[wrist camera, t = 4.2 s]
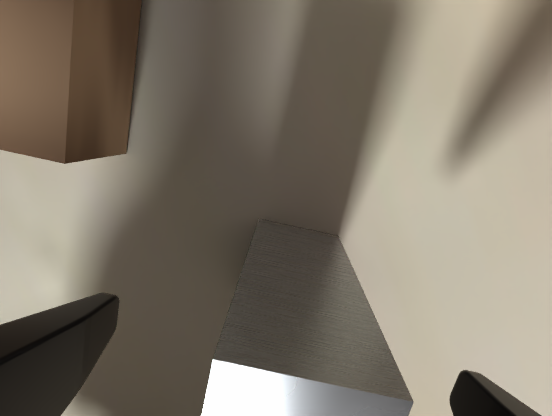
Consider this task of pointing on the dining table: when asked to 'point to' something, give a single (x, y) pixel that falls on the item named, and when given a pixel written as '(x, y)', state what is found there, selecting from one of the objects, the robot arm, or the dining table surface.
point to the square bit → (302, 336)
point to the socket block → (67, 77)
